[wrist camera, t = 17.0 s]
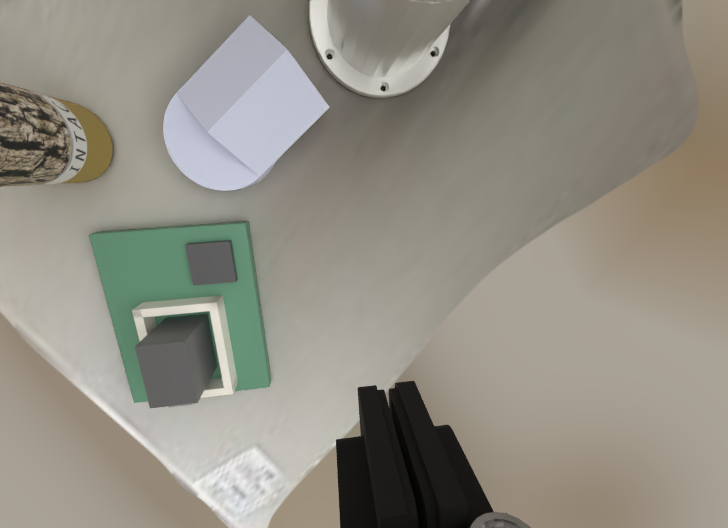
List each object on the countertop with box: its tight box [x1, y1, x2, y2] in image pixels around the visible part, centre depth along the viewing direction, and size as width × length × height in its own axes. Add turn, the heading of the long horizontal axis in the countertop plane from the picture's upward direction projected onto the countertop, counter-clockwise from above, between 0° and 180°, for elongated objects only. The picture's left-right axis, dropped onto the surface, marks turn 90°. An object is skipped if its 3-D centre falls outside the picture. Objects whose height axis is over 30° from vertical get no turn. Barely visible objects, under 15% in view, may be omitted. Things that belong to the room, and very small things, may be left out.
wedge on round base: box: [163, 15, 329, 191], centre depth 29 cm, size 9×7×13 cm
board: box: [89, 221, 271, 403], centre depth 35 cm, size 18×14×4 cm
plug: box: [135, 314, 217, 408], centre depth 33 cm, size 7×4×6 cm, turn 3°
